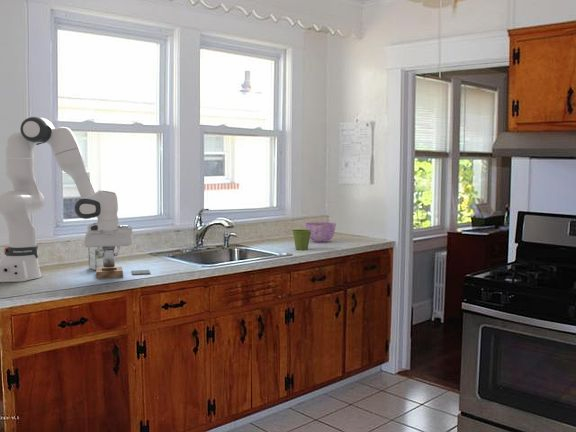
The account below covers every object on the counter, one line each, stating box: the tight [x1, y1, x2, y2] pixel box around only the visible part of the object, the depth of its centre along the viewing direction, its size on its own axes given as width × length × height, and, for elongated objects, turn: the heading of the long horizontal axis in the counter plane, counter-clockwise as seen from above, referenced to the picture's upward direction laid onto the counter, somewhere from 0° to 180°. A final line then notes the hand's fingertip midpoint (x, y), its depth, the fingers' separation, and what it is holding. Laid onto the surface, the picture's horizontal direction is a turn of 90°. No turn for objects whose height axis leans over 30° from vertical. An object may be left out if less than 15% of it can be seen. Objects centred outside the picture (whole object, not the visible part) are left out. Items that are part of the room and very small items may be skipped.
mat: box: [131, 269, 151, 276], centre depth 272 cm, size 8×8×1 cm
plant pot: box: [291, 228, 312, 251], centre depth 345 cm, size 12×12×11 cm
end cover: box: [102, 246, 116, 268], centre depth 264 cm, size 6×6×9 cm
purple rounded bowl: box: [305, 221, 337, 243], centre depth 378 cm, size 20×20×12 cm
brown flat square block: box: [95, 266, 124, 280], centre depth 265 cm, size 11×11×3 cm
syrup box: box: [88, 247, 103, 271], centre depth 282 cm, size 6×6×14 cm
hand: (108, 256), depth 264 cm, fingers closed on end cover, 5 cm apart
